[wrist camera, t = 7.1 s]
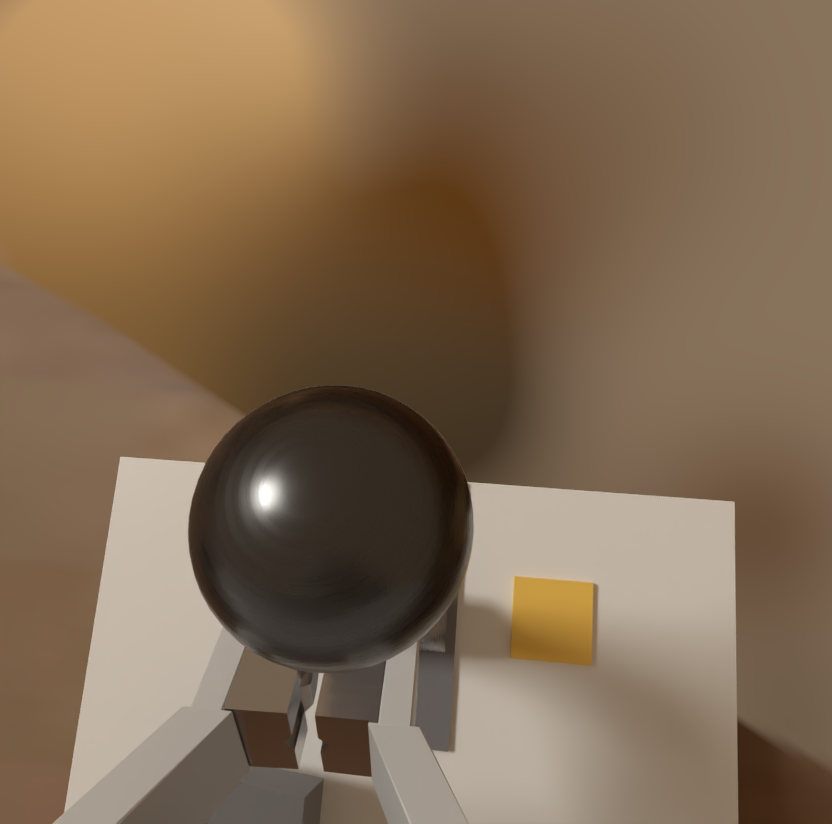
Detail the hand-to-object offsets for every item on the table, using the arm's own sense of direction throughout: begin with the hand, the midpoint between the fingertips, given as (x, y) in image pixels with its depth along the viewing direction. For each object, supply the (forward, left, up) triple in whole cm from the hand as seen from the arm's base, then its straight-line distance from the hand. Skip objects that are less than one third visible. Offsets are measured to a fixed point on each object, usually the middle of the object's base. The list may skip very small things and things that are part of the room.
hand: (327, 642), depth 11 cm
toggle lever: (-1, +1, -7) cm, 7 cm away
